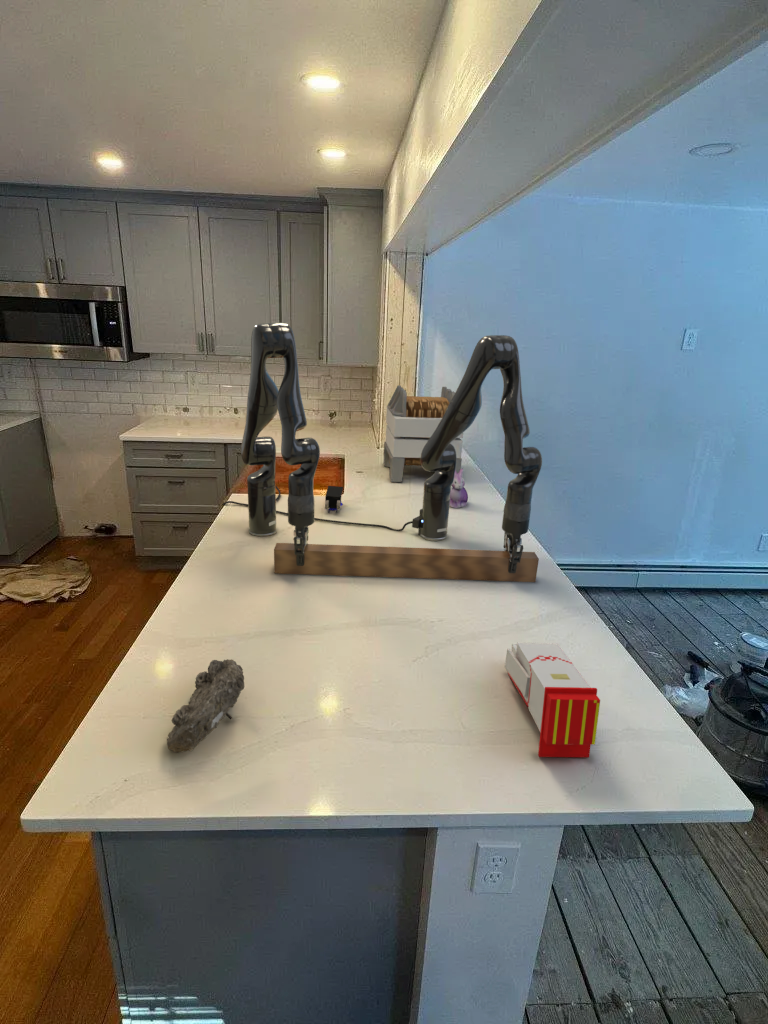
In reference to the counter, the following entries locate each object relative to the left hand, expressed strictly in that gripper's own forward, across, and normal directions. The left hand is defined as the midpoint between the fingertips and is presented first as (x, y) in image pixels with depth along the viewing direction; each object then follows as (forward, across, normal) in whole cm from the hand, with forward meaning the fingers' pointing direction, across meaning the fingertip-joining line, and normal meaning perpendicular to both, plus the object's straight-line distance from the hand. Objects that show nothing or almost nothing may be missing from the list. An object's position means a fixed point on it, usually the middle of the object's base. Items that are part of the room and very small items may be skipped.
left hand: (301, 561), depth 168 cm
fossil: (+3, +65, -9) cm, 65 cm away
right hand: (0, 0, +62) cm, 62 cm away
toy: (+3, +59, +56) cm, 82 cm away
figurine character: (+3, -55, +6) cm, 56 cm away
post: (+3, 0, +31) cm, 31 cm away
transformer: (+3, -112, +43) cm, 120 cm away
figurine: (+3, -66, +55) cm, 86 cm away
